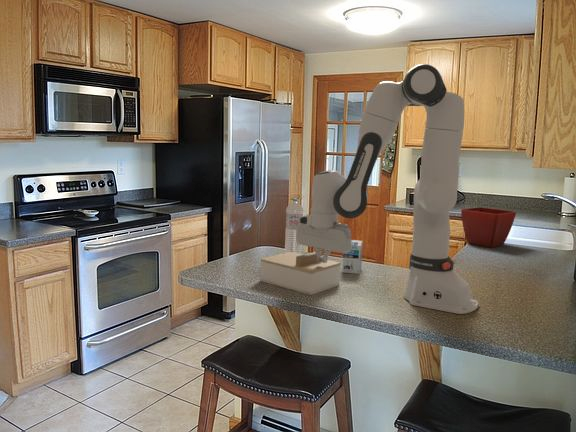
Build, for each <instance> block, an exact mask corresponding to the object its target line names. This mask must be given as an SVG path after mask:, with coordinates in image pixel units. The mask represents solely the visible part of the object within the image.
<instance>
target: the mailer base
mask: <svg viewBox="0 0 576 432" xmlns="http://www.w3.org/2000/svg"><path fill="white" fill-rule="evenodd" d="M259 273H260V277H259V281H260V282H262V283H266V284H270V285H273V286H277V287H281V288H284V289H288V290H290V291H294V292H298V293H301V294H304V295H307V296H312V295H316V294H318V293H321V292H325V291H327V290H330V289H332V288H335V287H338V286H340V282H341V281H340V276H341V264H340V265H339V266H335V267H332V268H329V269H326V270H322V271H319V272H316V273H313V274H310V273H306V272H302V271H298V270H294V269H290V268H286V267H282V266H278V265H274V264H270V263H266V262H262V261H261V260H260V271H259Z"/></svg>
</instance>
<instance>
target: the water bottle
mask: <svg viewBox="0 0 576 432" xmlns="http://www.w3.org/2000/svg"><path fill="white" fill-rule="evenodd" d="M285 212H286V214H285V215H286V217H285V237H284V239H285V240H284V242H285V243H284V253H287V252H295V253H299V254H303V252H302V250H303V247H302V246H303V245H300V244H298V243H297V241H296V231H297V226H298V225H299V223H298V218H299V217H302V216H304V215H303V213H304V208H303V206H302V205H301V204H300V203H299V202H298V198H296V197H295V198H292V202H291V203H290V204H288V205H287V207H286V209H285Z"/></svg>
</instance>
